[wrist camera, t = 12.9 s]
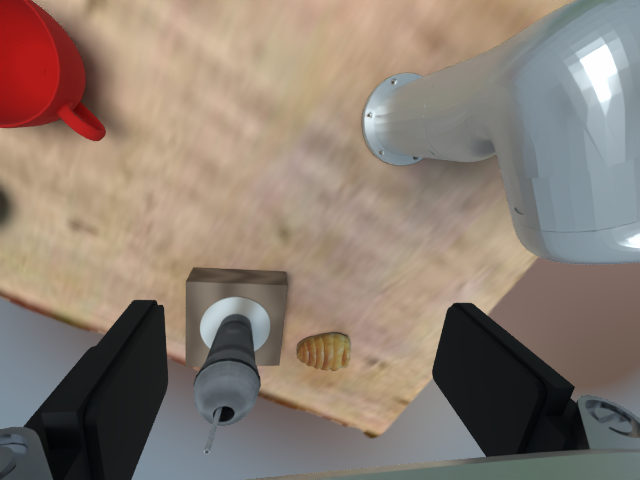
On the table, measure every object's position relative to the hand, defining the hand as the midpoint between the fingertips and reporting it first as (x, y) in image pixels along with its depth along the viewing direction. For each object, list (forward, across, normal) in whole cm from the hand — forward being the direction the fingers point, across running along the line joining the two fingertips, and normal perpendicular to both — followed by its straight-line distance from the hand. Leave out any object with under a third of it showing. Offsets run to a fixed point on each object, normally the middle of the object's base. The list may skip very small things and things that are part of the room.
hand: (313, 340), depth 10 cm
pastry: (+38, -10, +29) cm, 49 cm away
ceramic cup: (+38, +26, -10) cm, 47 cm away
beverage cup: (+32, +5, +21) cm, 39 cm away
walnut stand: (+38, +5, +21) cm, 44 cm away
